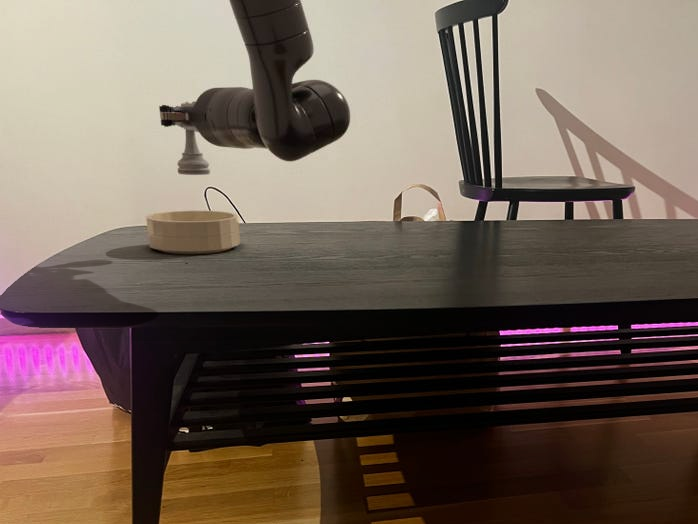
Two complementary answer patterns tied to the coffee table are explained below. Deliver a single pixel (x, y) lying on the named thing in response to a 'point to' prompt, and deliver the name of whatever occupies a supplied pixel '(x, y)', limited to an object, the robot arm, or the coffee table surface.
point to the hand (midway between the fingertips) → (179, 116)
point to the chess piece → (192, 157)
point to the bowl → (193, 231)
